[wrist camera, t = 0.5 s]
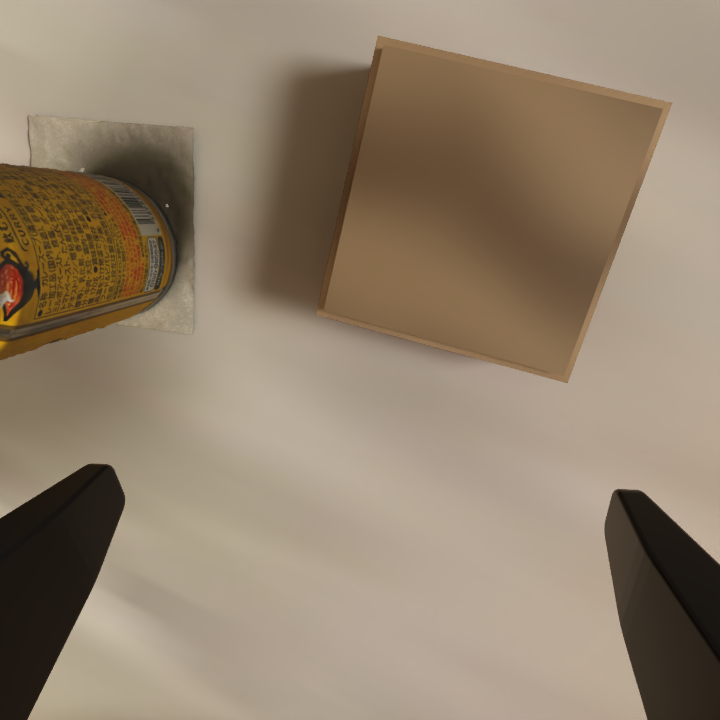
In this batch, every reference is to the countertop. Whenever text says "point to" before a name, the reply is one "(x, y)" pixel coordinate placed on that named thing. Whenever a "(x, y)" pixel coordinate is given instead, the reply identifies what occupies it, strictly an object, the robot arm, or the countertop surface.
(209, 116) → the countertop surface
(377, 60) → the base block
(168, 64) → the countertop surface
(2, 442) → the countertop surface
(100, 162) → the condiment
